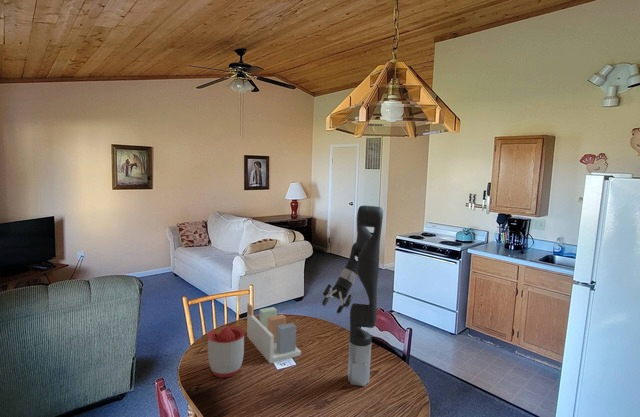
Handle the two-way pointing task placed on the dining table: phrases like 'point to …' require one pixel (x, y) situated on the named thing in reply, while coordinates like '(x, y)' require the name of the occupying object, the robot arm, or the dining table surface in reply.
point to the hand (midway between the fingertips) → (330, 309)
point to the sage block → (267, 315)
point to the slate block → (286, 338)
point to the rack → (265, 339)
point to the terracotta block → (275, 324)
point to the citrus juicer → (226, 351)
